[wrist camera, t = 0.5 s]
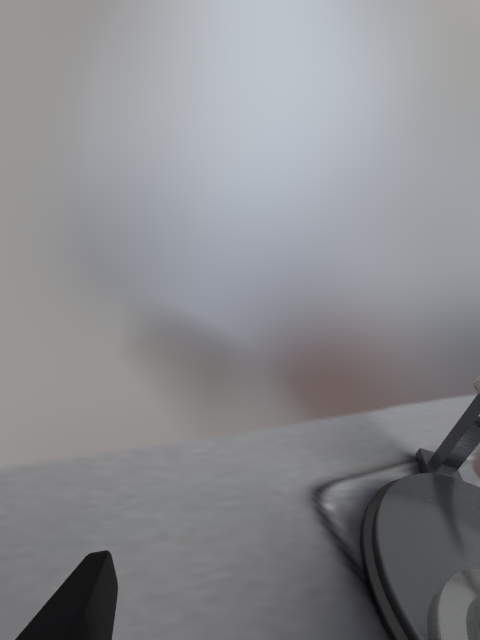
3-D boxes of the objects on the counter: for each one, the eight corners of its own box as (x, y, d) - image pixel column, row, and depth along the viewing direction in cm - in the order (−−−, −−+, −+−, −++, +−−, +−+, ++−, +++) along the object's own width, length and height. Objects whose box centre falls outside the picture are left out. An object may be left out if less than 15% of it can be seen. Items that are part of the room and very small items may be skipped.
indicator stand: (414, 452, 32) (474, 366, 28) (448, 463, 32) (514, 378, 28) (432, 505, 28) (507, 412, 23) (472, 517, 28) (556, 427, 23)
